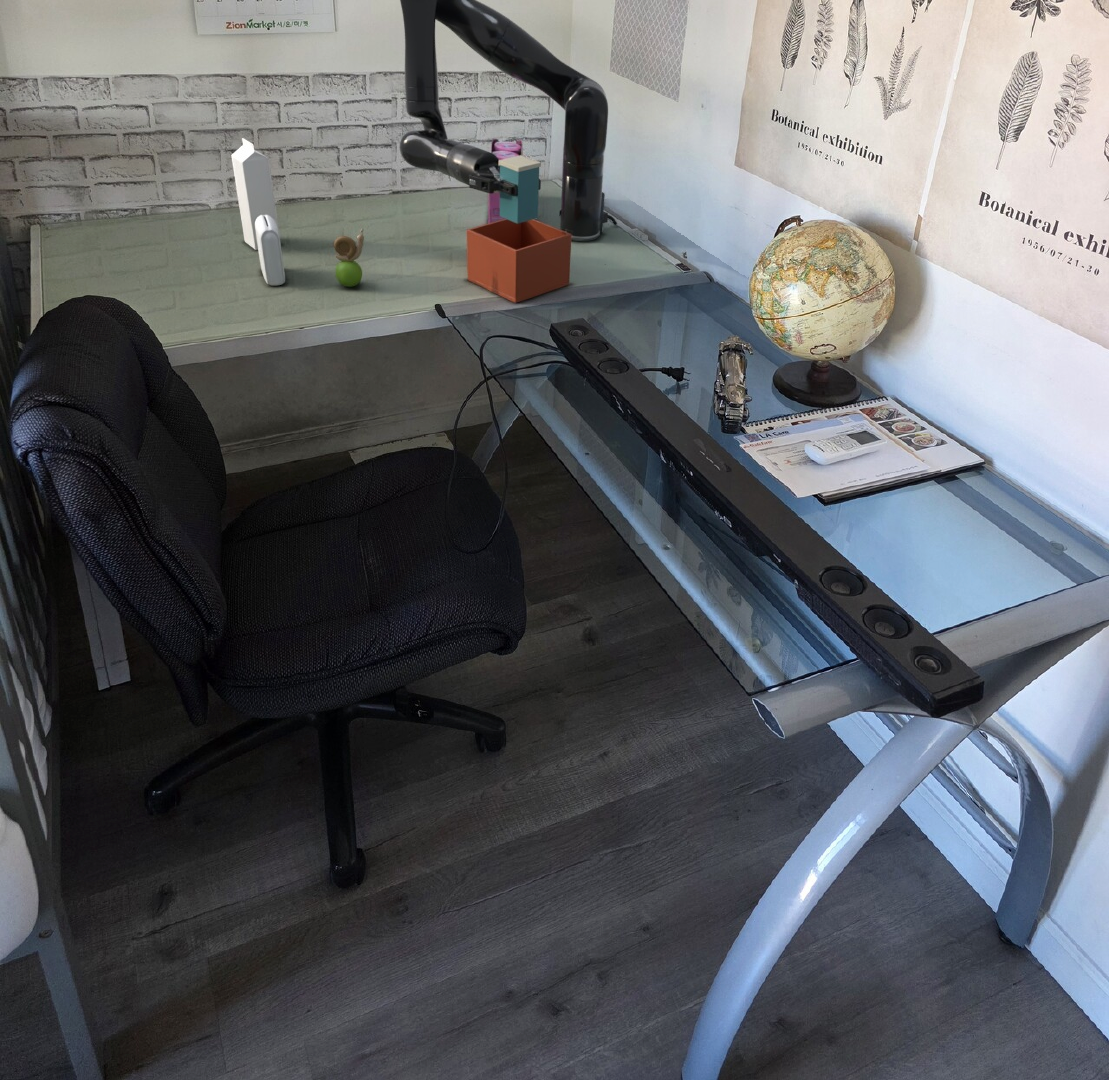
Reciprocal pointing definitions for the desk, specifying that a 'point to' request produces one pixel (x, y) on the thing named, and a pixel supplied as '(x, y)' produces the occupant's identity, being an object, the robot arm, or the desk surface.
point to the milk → (253, 189)
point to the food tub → (520, 189)
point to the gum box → (502, 152)
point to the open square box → (518, 258)
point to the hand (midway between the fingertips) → (527, 188)
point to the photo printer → (269, 250)
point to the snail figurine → (348, 260)
